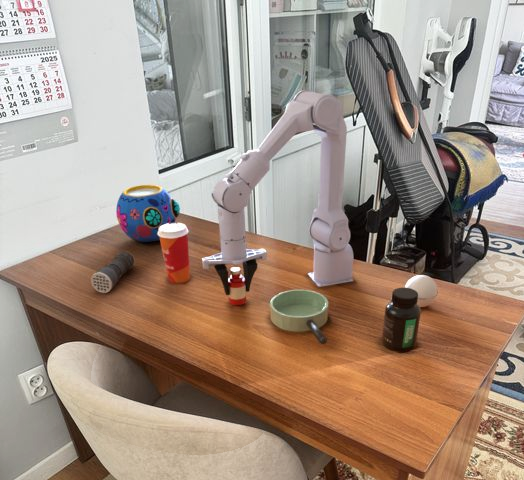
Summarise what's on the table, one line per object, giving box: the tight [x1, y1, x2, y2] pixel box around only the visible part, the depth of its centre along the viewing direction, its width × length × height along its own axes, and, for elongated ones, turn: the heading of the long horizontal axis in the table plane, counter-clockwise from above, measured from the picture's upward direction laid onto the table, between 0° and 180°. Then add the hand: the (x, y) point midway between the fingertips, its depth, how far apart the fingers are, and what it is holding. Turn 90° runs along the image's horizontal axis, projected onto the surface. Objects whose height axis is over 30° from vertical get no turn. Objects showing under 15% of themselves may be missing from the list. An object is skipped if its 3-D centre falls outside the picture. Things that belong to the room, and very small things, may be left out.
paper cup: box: [158, 222, 191, 284], centre depth 132 cm, size 8×8×14 cm
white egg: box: [404, 274, 449, 308], centre depth 117 cm, size 10×7×7 cm
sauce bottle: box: [227, 266, 247, 306], centre depth 120 cm, size 4×4×8 cm
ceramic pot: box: [115, 184, 181, 243], centre depth 155 cm, size 18×18×15 cm
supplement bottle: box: [381, 286, 422, 354], centre depth 103 cm, size 7×7×12 cm
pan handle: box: [307, 320, 328, 345], centre depth 107 cm, size 9×2×2 cm, turn 17°
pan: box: [269, 289, 330, 333], centre depth 115 cm, size 13×13×4 cm
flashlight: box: [90, 250, 135, 294], centre depth 135 cm, size 15×5×5 cm, turn 168°
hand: (236, 291), depth 121 cm, fingers closed on sauce bottle, 4 cm apart
